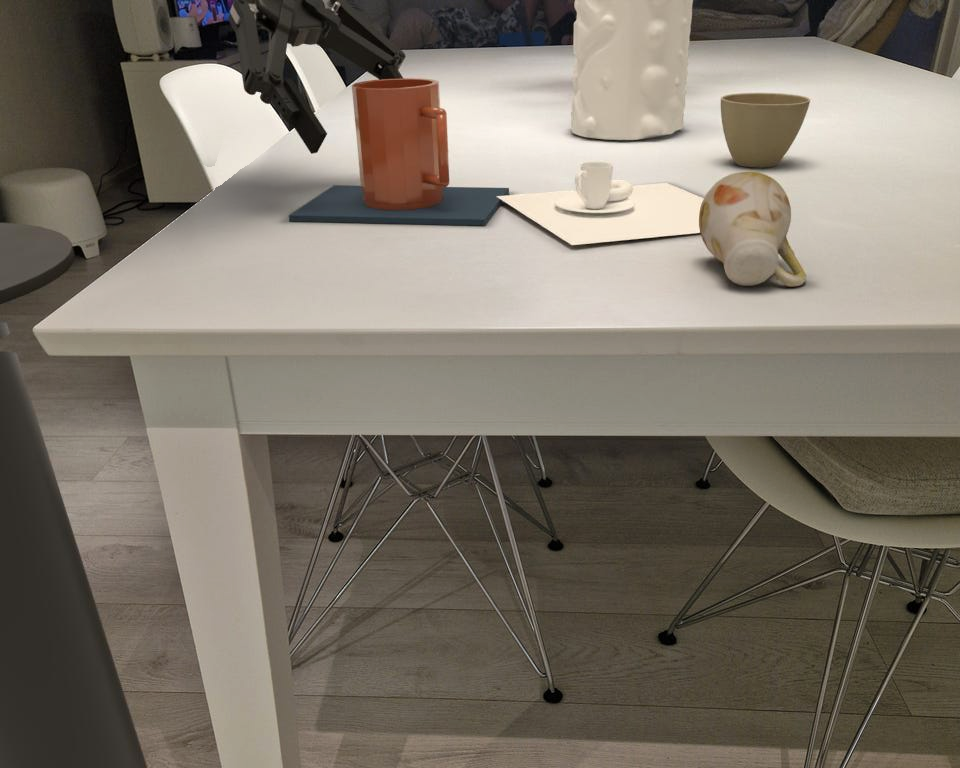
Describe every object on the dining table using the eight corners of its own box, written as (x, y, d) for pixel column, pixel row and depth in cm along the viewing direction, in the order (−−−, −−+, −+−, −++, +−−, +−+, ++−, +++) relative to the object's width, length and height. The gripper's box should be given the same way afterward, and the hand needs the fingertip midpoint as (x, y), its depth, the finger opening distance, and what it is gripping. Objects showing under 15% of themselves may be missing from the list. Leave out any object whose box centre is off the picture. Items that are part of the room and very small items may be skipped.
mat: (289, 221, 92) (288, 215, 92) (334, 190, 104) (333, 185, 103) (484, 225, 89) (484, 219, 88) (509, 193, 100) (509, 187, 100)
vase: (559, 125, 138) (563, -141, 120) (665, 120, 139) (685, -144, 121) (580, 145, 123) (589, -154, 106) (698, 139, 124) (727, -157, 107)
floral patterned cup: (705, 297, 69) (687, 164, 69) (712, 315, 79) (696, 198, 78) (810, 276, 67) (792, 138, 66) (804, 297, 76) (788, 176, 76)
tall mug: (347, 201, 96) (335, 84, 90) (409, 188, 101) (402, 76, 95) (416, 219, 89) (408, 93, 83) (479, 204, 94) (476, 83, 88)
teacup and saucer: (619, 195, 96) (622, 154, 94) (655, 213, 90) (659, 168, 88) (541, 202, 94) (543, 159, 92) (573, 220, 87) (575, 175, 85)
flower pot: (746, 175, 105) (755, 106, 101) (697, 160, 112) (703, 96, 108) (818, 166, 108) (829, 99, 104) (765, 153, 115) (774, 89, 111)
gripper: (336, -12, 106) (437, 141, 105) (143, -1, 90) (260, 179, 90) (363, -69, 100) (470, 93, 99) (161, -68, 84) (286, 124, 84)
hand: (370, 134), depth 95 cm, fingers open, 13 cm apart
